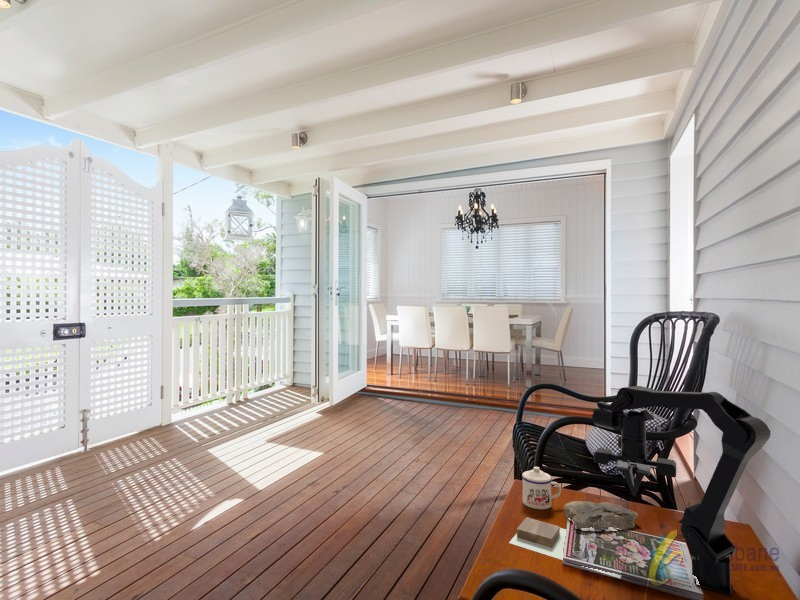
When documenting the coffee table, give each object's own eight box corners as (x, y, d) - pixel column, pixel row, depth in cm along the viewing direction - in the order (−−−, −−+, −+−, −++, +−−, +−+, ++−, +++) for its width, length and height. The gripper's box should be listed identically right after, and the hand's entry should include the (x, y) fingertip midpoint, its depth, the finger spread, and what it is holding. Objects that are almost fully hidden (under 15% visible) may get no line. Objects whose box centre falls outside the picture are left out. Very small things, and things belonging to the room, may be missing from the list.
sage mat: (629, 549, 108) (629, 547, 108) (620, 581, 95) (620, 578, 95) (528, 521, 123) (528, 519, 123) (508, 545, 110) (508, 542, 110)
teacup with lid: (525, 510, 130) (525, 472, 130) (519, 498, 139) (519, 462, 139) (565, 512, 129) (565, 473, 129) (556, 499, 138) (556, 463, 138)
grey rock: (624, 513, 129) (558, 510, 130) (624, 497, 129) (558, 494, 130) (650, 538, 115) (576, 535, 116) (650, 520, 115) (576, 517, 116)
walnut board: (559, 526, 114) (526, 517, 119) (551, 539, 108) (516, 528, 113) (559, 534, 114) (526, 525, 119) (551, 547, 108) (516, 537, 113)
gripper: (676, 433, 113) (677, 493, 112) (600, 423, 123) (600, 477, 123) (675, 443, 103) (676, 508, 103) (592, 431, 114) (593, 490, 113)
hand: (634, 494), depth 111 cm, fingers closed
